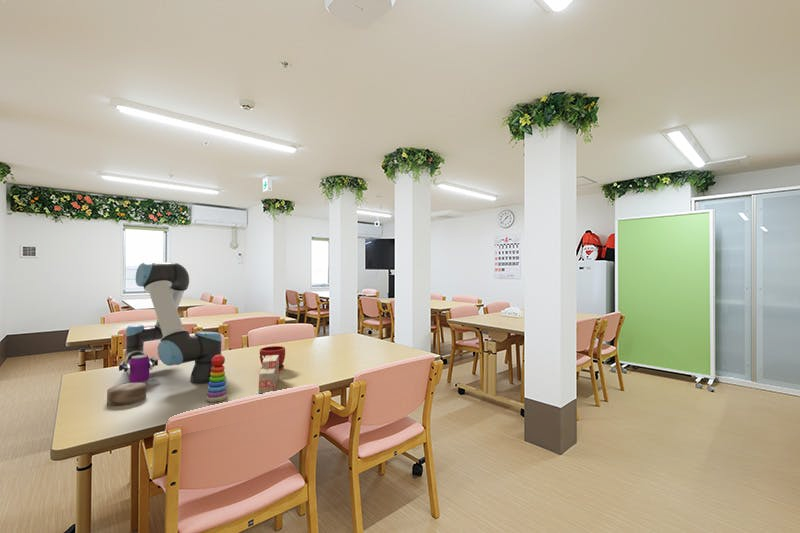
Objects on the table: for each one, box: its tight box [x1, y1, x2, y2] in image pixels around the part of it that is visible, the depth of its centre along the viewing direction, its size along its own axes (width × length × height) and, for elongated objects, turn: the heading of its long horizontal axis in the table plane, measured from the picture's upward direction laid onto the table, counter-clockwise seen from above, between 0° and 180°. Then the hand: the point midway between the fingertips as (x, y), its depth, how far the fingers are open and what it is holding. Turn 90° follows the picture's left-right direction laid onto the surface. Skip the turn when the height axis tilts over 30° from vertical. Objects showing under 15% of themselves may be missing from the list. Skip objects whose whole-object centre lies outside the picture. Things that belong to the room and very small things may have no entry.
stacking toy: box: [205, 354, 228, 403], centre depth 151 cm, size 8×8×19 cm
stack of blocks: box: [258, 355, 280, 395], centre depth 168 cm, size 21×6×12 cm, turn 13°
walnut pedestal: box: [106, 382, 147, 407], centre depth 149 cm, size 13×13×5 cm
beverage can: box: [128, 353, 150, 383], centre depth 167 cm, size 8×8×12 cm
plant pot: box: [259, 345, 286, 372], centre depth 193 cm, size 13×13×12 cm
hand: (140, 368), depth 164 cm, fingers closed on beverage can, 8 cm apart
